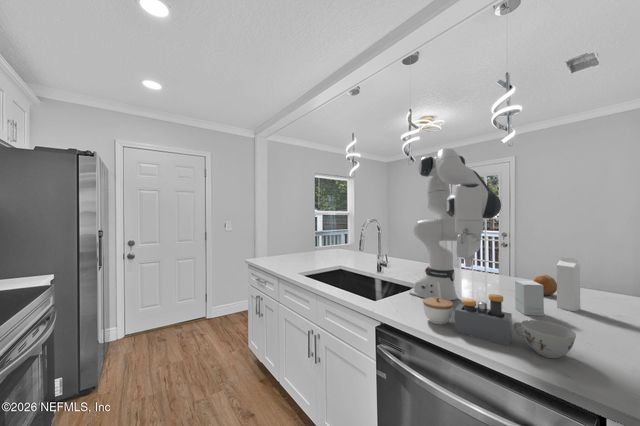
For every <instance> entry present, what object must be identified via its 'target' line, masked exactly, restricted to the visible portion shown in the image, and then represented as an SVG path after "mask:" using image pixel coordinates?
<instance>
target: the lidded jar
mask: <svg viewBox="0 0 640 426" xmlns="http://www.w3.org/2000/svg"><path fill="white" fill-rule="evenodd" d="M422 302H423V311H424V315H425V317H426V318H427V320H429V322H430V323H431V324H432V323H433V324H435V325H439V326H440V325H441V326H442V325H446V324H447V323H448V322H449V321H450V319H451V318H452V316H453V312H454V311H453V309H454V308H453V307H454V304H453V302H452V300H446V299H443V298H439V297H436V298H434V297H432V298H423V300H422Z"/></svg>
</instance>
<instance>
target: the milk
mask: <svg viewBox="0 0 640 426" xmlns="http://www.w3.org/2000/svg"><path fill="white" fill-rule="evenodd" d="M556 283H557V291H556V307H557V308H558V309H562V310H566V311H570V312H577V311H579V310H581V265H580V264H579V263H578V259H577V258H571V257H563V256H560V257H559V261H558V262H557V263H556Z"/></svg>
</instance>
